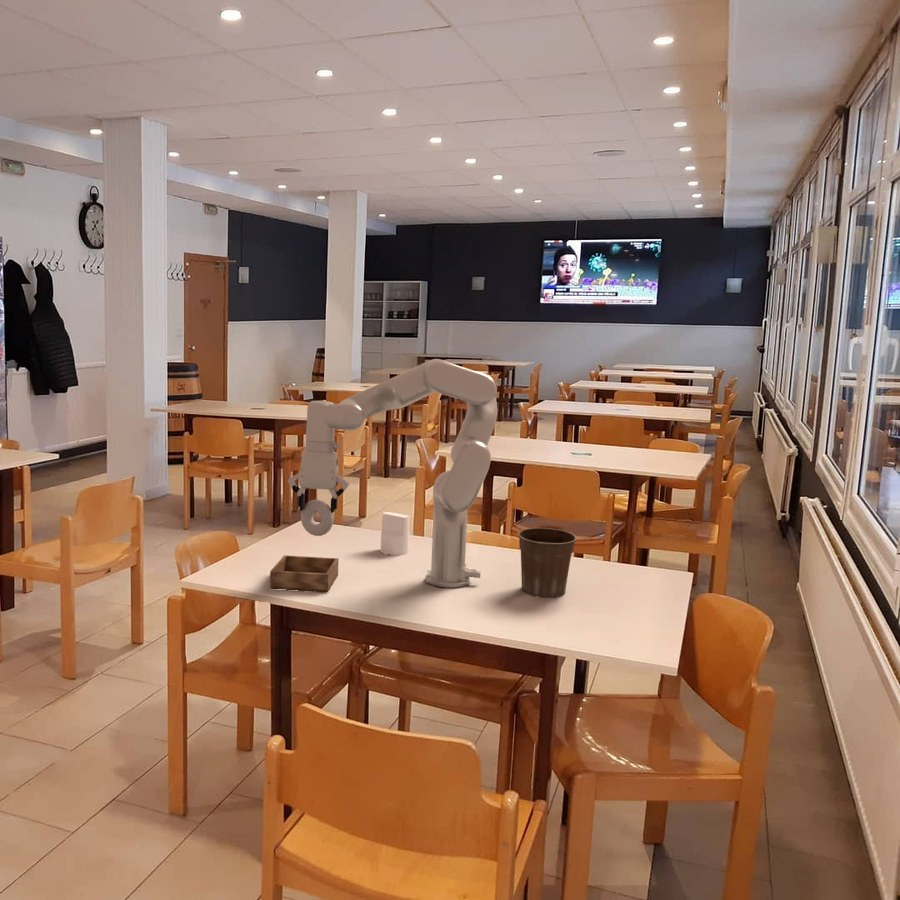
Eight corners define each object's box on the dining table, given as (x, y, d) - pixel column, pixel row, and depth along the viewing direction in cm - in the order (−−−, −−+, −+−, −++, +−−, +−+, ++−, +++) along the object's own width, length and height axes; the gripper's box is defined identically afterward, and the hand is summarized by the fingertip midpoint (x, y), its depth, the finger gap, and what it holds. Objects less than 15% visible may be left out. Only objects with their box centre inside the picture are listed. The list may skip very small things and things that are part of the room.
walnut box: (338, 575, 236) (338, 558, 236) (327, 592, 221) (328, 574, 220) (283, 572, 237) (284, 555, 236) (269, 589, 222) (270, 571, 221)
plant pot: (569, 604, 221) (574, 545, 219) (510, 596, 225) (513, 539, 222) (575, 586, 237) (579, 531, 234) (519, 579, 240) (522, 525, 238)
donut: (335, 537, 226) (336, 501, 225) (328, 540, 223) (329, 503, 221) (304, 531, 230) (306, 496, 229) (297, 534, 227) (298, 498, 226)
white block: (414, 551, 265) (415, 514, 264) (397, 557, 258) (399, 519, 256) (391, 546, 270) (392, 510, 268) (374, 551, 262) (376, 514, 261)
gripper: (354, 447, 226) (351, 510, 229) (290, 442, 227) (288, 505, 229) (350, 451, 219) (347, 516, 222) (284, 446, 219) (282, 511, 222)
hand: (317, 510), depth 226 cm, fingers closed on donut, 7 cm apart
